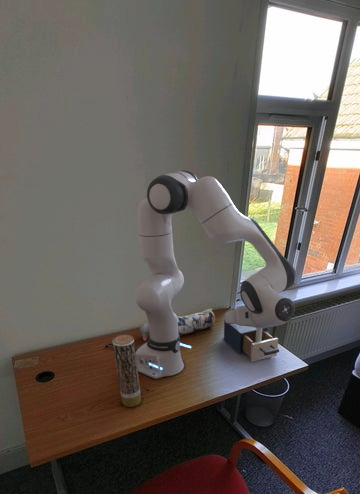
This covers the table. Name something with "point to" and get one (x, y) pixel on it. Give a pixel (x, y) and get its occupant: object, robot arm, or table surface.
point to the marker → (258, 335)
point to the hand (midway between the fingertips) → (244, 319)
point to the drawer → (259, 346)
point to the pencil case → (195, 322)
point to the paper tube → (127, 370)
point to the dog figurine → (144, 329)
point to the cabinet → (237, 334)
